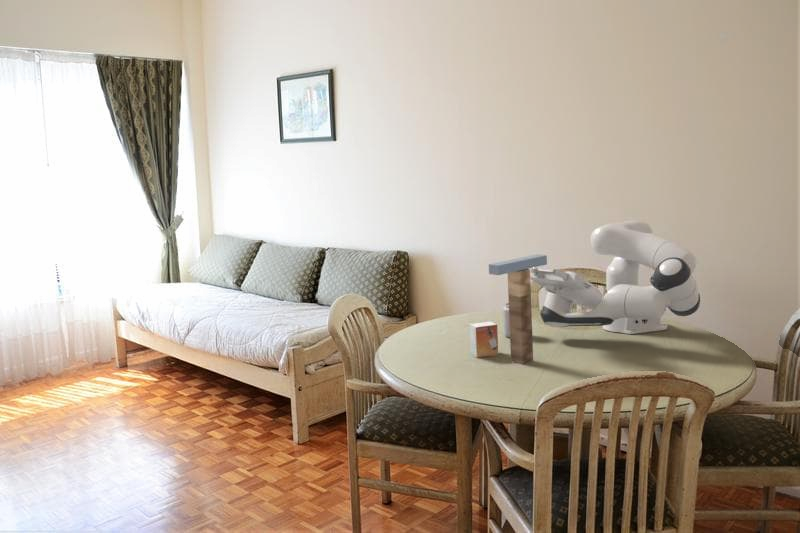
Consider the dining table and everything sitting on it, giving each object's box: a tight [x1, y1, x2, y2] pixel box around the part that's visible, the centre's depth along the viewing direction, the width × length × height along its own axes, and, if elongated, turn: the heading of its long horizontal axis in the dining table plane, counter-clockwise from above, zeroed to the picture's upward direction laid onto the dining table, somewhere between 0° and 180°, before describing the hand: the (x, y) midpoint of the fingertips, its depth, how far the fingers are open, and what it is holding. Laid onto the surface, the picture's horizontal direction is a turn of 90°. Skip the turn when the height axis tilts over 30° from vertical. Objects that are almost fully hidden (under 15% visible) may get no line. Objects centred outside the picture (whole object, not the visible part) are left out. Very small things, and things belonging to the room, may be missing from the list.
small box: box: [469, 320, 499, 358], centre depth 243 cm, size 8×6×10 cm
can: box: [502, 302, 510, 338], centre depth 263 cm, size 8×8×12 cm
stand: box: [507, 268, 534, 365], centre depth 232 cm, size 5×5×30 cm
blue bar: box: [488, 254, 548, 276], centre depth 229 cm, size 22×4×3 cm, turn 127°
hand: (543, 270), depth 236 cm, fingers open, 8 cm apart
